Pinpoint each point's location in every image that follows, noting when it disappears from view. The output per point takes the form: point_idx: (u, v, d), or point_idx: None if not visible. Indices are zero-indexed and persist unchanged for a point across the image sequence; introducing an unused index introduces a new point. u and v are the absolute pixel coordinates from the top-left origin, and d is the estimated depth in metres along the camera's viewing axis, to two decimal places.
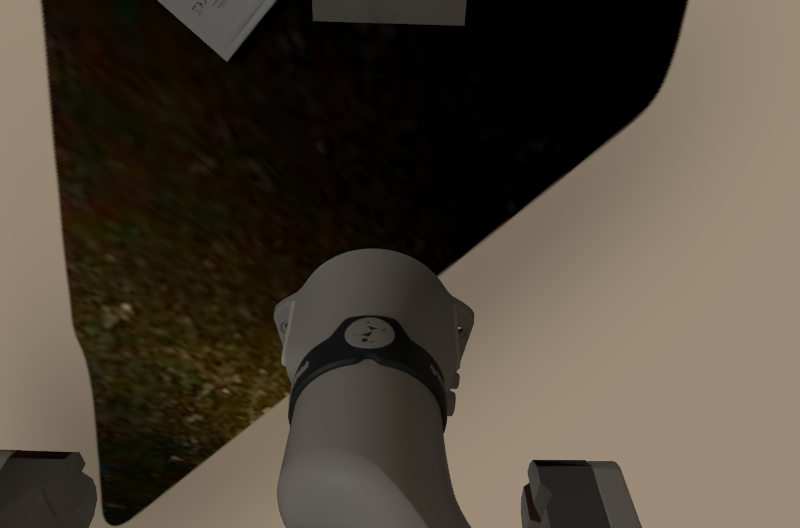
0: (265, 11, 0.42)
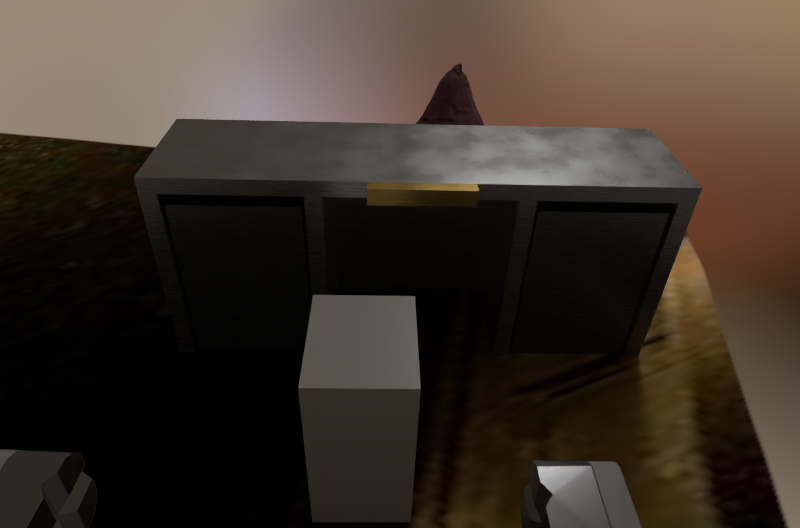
0: None
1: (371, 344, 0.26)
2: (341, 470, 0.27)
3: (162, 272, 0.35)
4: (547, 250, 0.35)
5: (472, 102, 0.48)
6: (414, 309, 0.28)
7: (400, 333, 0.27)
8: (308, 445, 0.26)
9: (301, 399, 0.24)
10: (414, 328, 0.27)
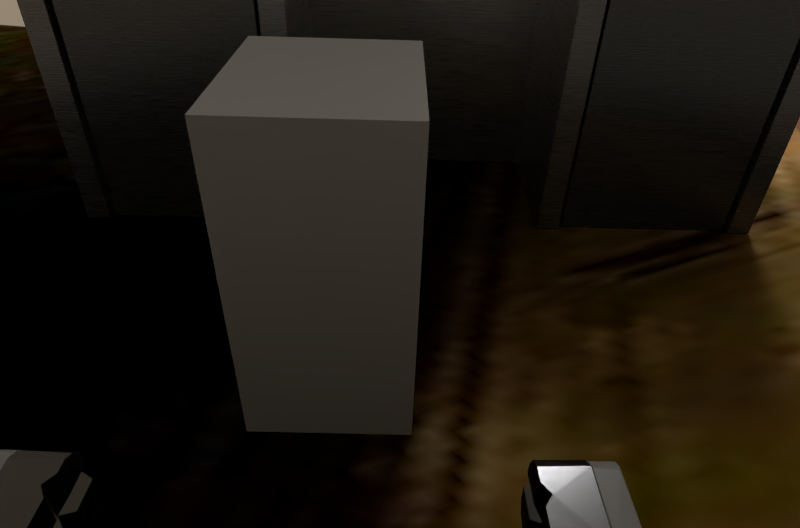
0: None
1: (340, 77, 0.14)
2: (286, 322, 0.15)
3: (46, 74, 0.24)
4: (627, 40, 0.23)
5: None
6: (421, 51, 0.16)
7: (394, 69, 0.15)
8: (222, 265, 0.14)
9: (194, 146, 0.12)
10: (420, 65, 0.15)
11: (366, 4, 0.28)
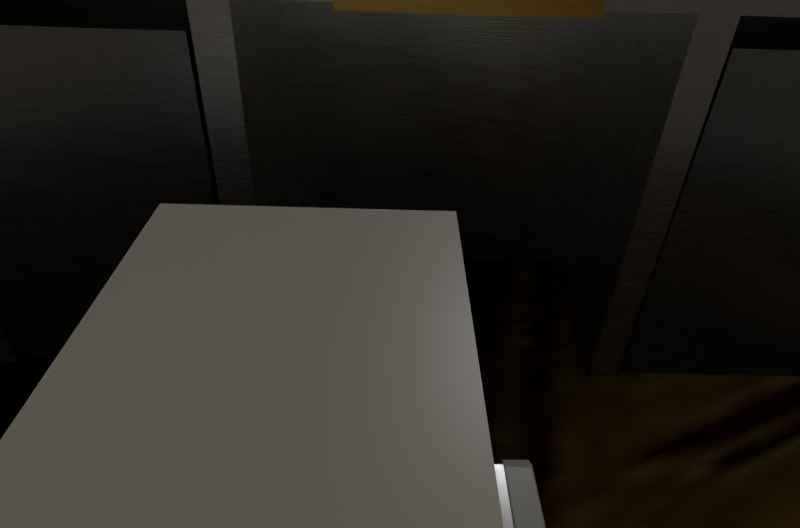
0: None
1: (307, 348, 0.07)
2: None
3: None
4: (734, 150, 0.16)
5: None
6: (456, 244, 0.09)
7: (414, 311, 0.08)
8: None
9: None
10: (460, 297, 0.08)
11: (361, 74, 0.22)
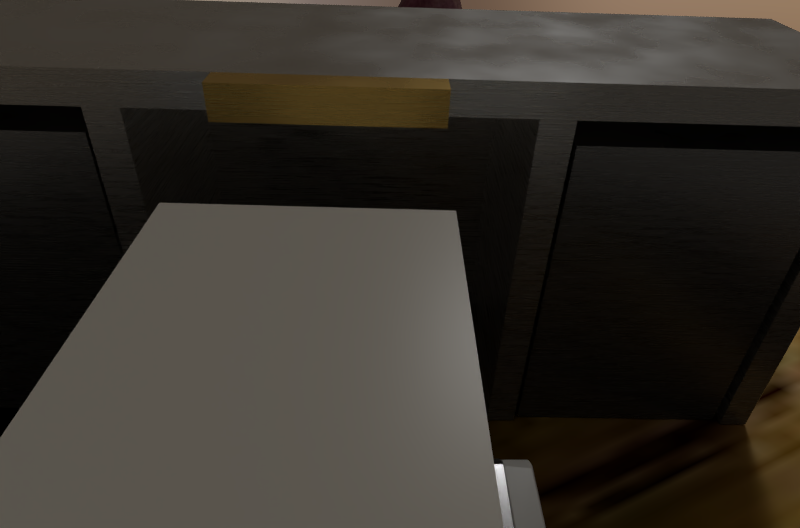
0: None
1: (307, 347, 0.07)
2: None
3: None
4: (591, 229, 0.18)
5: None
6: (456, 243, 0.09)
7: (414, 310, 0.08)
8: None
9: None
10: (460, 297, 0.08)
11: (279, 140, 0.23)
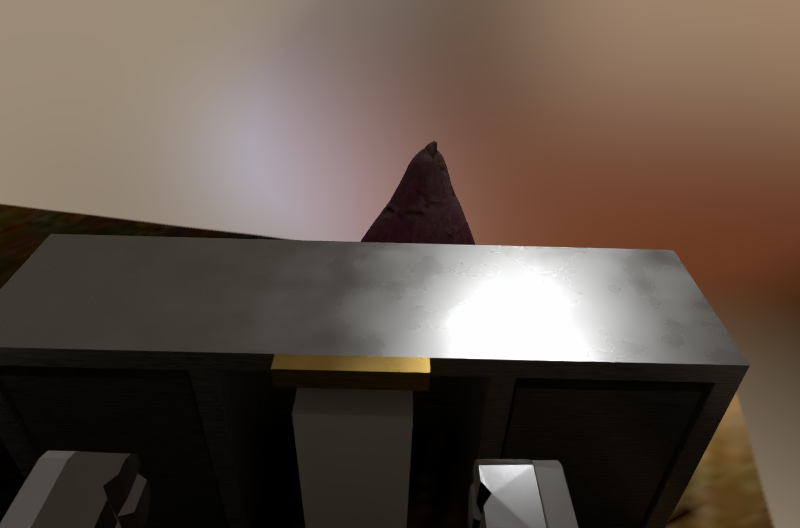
0: None
1: None
2: (335, 494, 0.27)
3: (13, 450, 0.26)
4: (531, 431, 0.26)
5: (449, 189, 0.38)
6: None
7: None
8: (303, 470, 0.26)
9: (295, 424, 0.25)
10: None
11: None
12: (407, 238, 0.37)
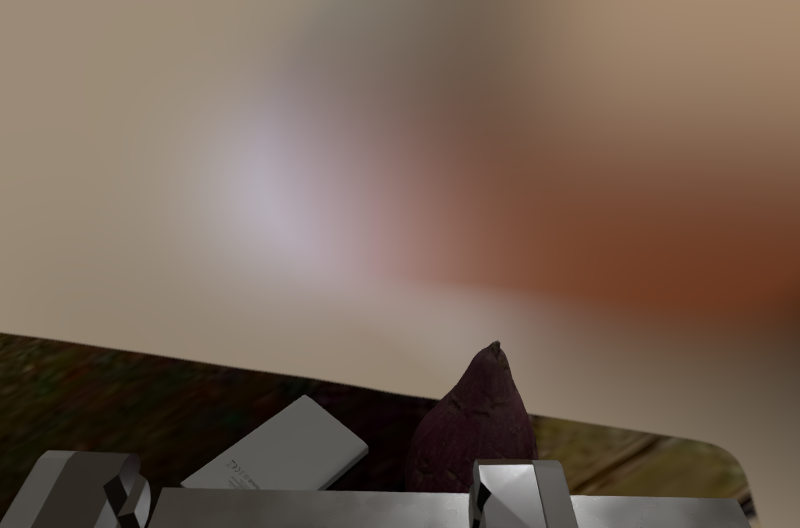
0: None
1: None
2: None
3: None
4: None
5: (512, 387, 0.41)
6: None
7: None
8: None
9: None
10: None
11: None
12: (474, 438, 0.40)
